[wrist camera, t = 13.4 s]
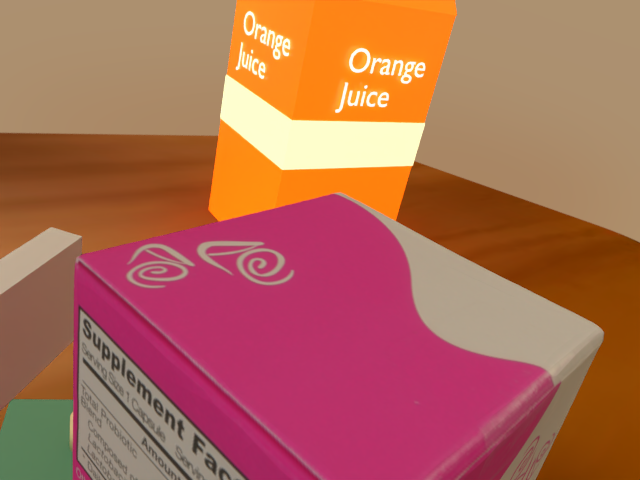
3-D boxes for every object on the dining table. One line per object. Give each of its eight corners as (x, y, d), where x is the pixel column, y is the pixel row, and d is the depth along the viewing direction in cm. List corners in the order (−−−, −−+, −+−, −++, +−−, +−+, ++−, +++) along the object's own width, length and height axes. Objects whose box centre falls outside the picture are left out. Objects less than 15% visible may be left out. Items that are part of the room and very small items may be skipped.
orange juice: (206, 208, 38) (256, -162, 29) (322, 201, 43) (395, -119, 34) (263, 273, 33) (346, -158, 24) (388, 256, 38) (496, -107, 29)
